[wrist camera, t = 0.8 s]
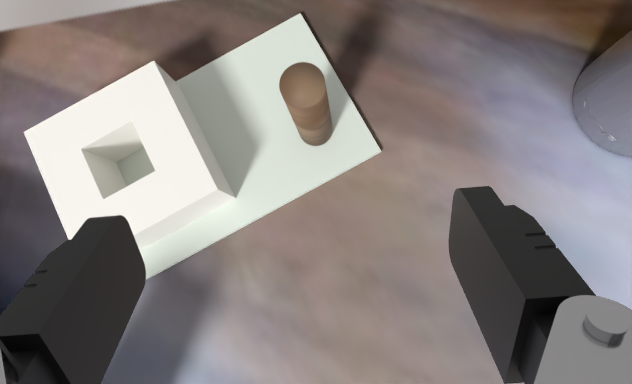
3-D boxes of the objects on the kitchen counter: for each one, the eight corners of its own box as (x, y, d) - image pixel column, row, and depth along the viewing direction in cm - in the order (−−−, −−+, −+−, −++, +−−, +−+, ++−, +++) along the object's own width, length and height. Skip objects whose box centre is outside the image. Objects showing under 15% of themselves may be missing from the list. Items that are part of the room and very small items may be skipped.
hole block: (179, 85, 39) (153, 60, 34) (236, 198, 37) (217, 189, 32) (65, 147, 39) (23, 132, 34) (115, 263, 37) (79, 265, 32)
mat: (300, 15, 39) (300, 12, 39) (380, 152, 37) (381, 151, 36) (57, 149, 39) (53, 148, 39) (119, 294, 37) (116, 295, 37)
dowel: (322, 107, 37) (311, 54, 28) (339, 135, 37) (333, 91, 27) (292, 123, 37) (271, 76, 28) (308, 152, 37) (292, 114, 27)
